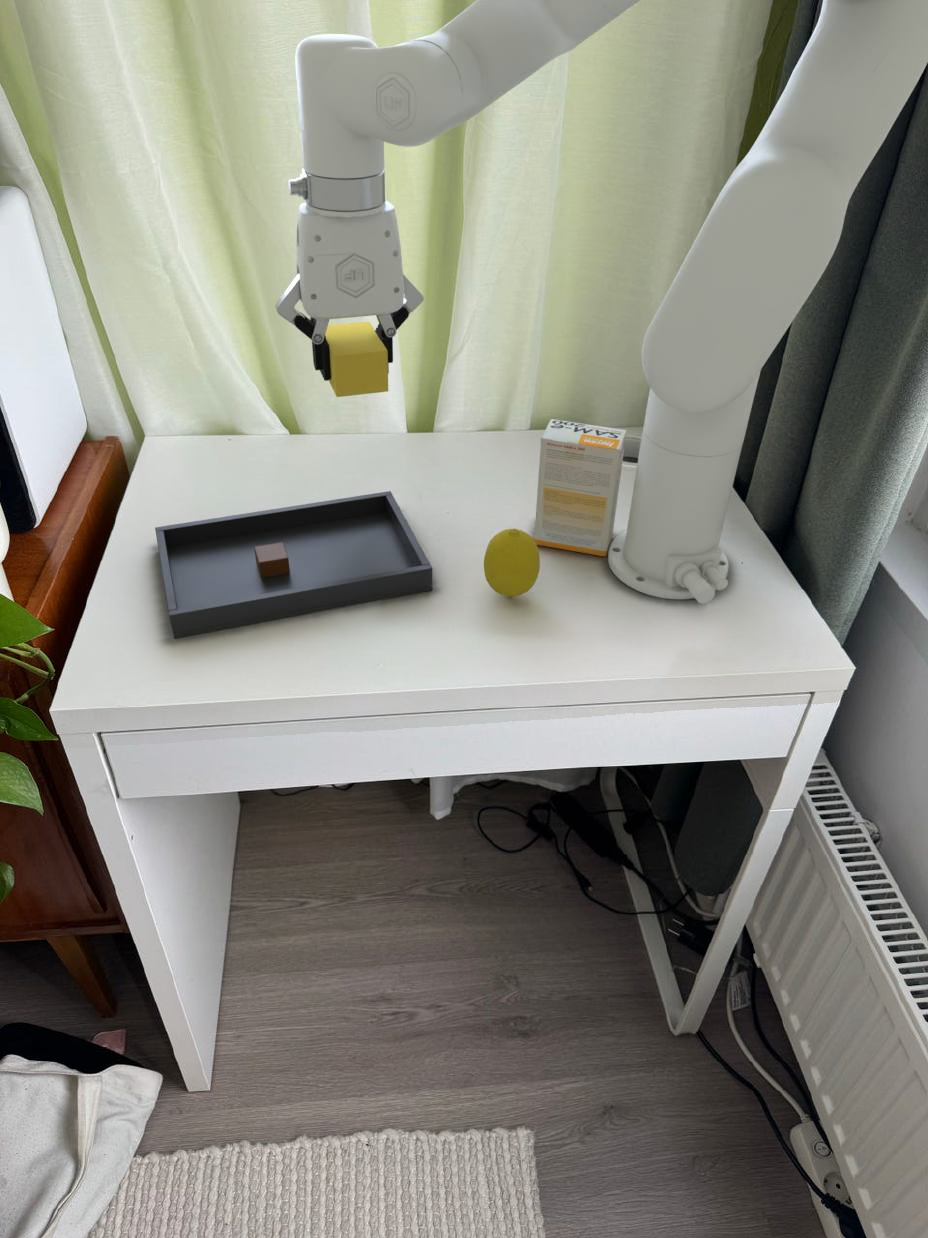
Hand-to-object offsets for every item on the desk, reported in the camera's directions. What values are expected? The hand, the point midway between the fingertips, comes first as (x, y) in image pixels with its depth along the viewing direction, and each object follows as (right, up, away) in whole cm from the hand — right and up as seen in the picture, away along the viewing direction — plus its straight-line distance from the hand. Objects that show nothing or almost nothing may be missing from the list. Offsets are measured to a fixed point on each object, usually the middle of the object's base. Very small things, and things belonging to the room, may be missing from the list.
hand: (353, 370), depth 98 cm
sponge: (0, -1, +1) cm, 1 cm away
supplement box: (+24, -18, +4) cm, 30 cm away
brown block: (-8, -21, -3) cm, 23 cm away
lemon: (+16, -24, -4) cm, 29 cm away
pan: (-6, -21, -2) cm, 22 cm away
